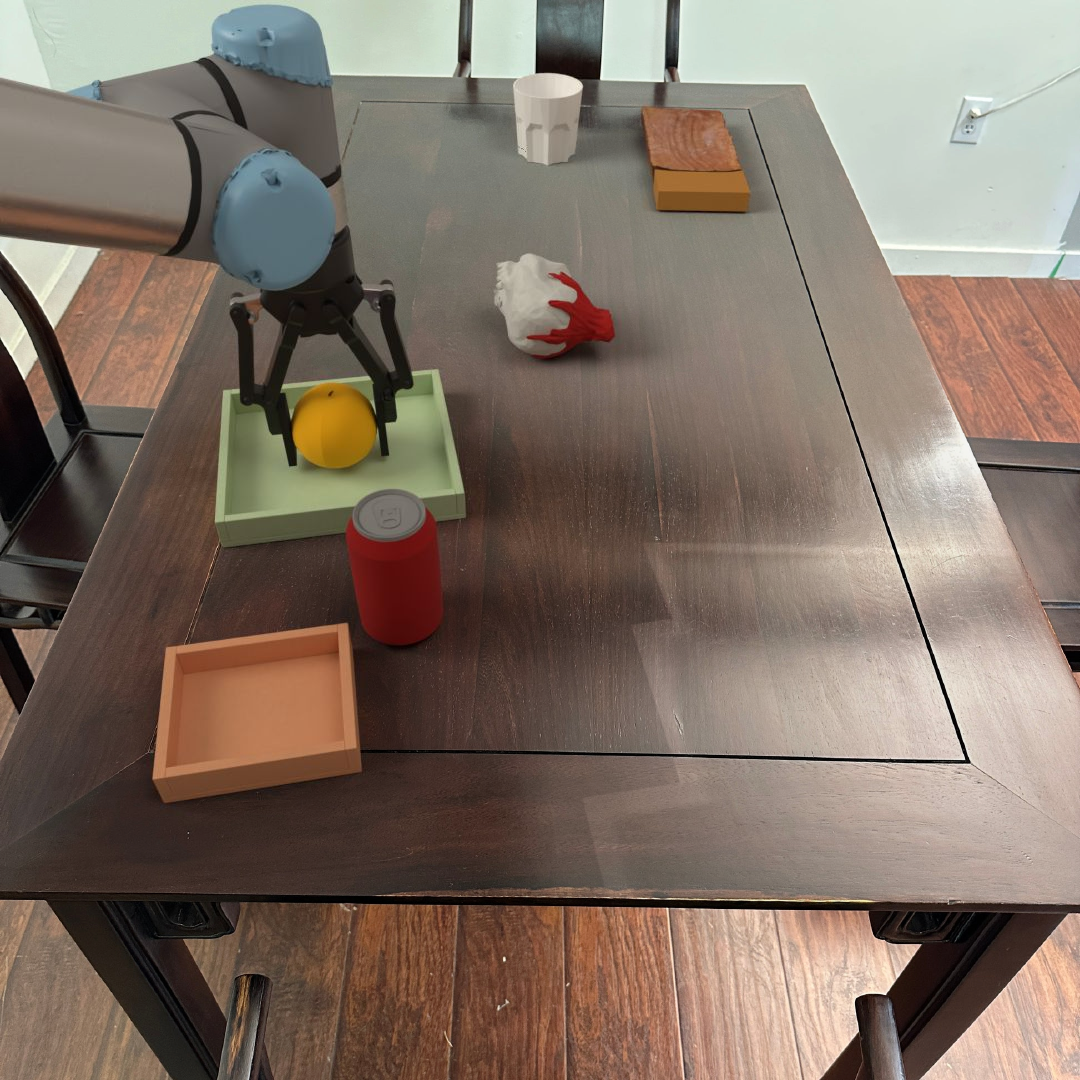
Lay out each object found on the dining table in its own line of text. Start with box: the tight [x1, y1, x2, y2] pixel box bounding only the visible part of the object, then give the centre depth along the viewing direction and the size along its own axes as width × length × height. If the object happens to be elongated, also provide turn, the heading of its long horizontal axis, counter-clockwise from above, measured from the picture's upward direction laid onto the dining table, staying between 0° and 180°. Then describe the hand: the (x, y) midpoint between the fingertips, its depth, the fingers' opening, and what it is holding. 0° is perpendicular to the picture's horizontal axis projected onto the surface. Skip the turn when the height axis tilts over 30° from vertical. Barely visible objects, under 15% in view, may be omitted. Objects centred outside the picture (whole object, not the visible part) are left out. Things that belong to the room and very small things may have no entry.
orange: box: [291, 382, 378, 468], centre depth 90 cm, size 8×8×8 cm
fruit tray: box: [214, 368, 467, 549], centre depth 92 cm, size 22×20×3 cm
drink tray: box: [152, 622, 363, 804], centre depth 71 cm, size 14×12×3 cm
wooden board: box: [640, 106, 751, 212], centre depth 142 cm, size 13×30×3 cm, turn 0°
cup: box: [512, 72, 584, 167], centre depth 142 cm, size 10×10×10 cm
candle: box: [493, 252, 616, 359], centre depth 106 cm, size 9×11×15 cm
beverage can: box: [345, 489, 444, 646], centre depth 75 cm, size 7×7×12 cm
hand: (338, 452), depth 92 cm, fingers closed on orange, 8 cm apart
